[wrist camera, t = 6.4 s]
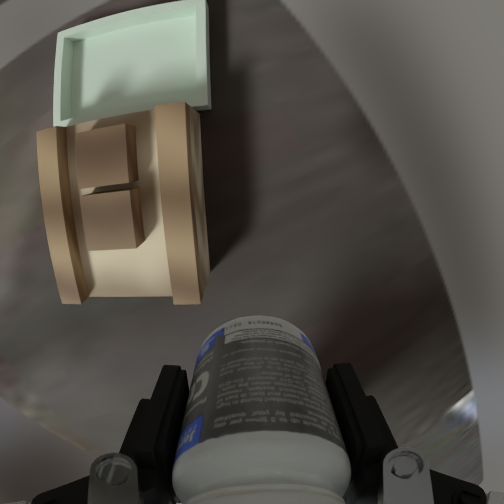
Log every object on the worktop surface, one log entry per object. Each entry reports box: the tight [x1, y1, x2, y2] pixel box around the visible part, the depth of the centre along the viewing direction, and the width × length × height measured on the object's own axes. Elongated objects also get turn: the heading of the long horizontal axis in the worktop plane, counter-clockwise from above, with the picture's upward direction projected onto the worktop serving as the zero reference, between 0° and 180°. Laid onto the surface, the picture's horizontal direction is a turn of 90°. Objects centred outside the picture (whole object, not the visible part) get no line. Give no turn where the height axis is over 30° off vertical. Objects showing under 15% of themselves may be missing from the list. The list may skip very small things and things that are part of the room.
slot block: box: [37, 102, 210, 304], centre depth 24 cm, size 14×12×6 cm
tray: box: [53, 0, 212, 127], centre depth 22 cm, size 10×14×2 cm
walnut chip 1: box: [75, 124, 139, 189], centre depth 20 cm, size 4×4×2 cm
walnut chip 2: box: [80, 187, 145, 251], centre depth 21 cm, size 4×4×2 cm
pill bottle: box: [172, 316, 351, 504], centre depth 8 cm, size 5×5×8 cm
